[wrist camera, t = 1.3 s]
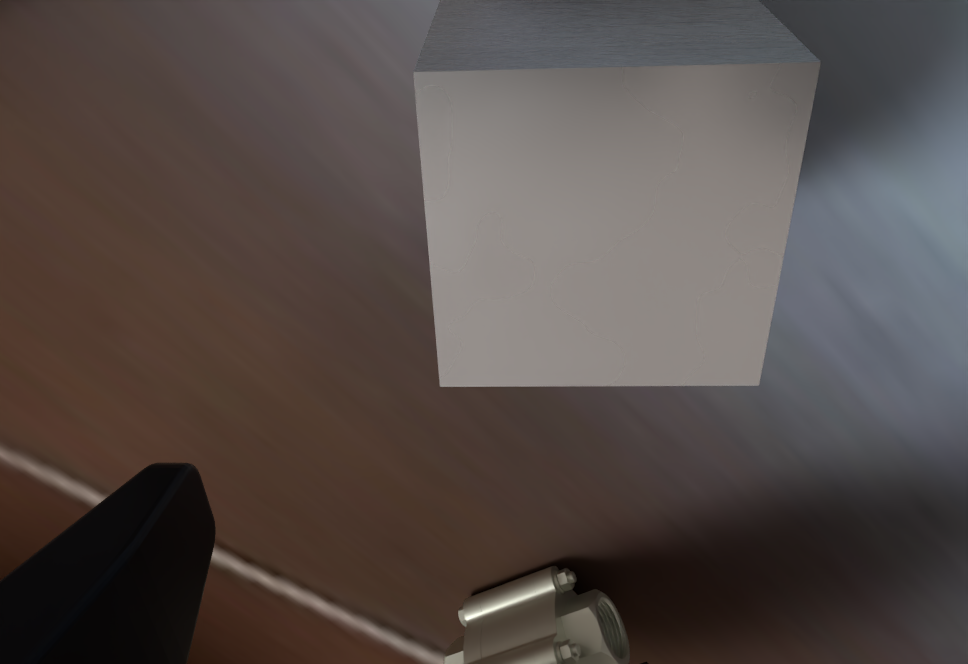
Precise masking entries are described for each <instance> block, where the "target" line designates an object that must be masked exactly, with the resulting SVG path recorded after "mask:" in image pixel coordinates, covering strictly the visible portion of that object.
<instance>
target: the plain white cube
mask: <svg viewBox="0 0 968 664" xmlns="http://www.w3.org/2000/svg"><path fill="white" fill-rule="evenodd" d="M820 65H821V61H820V60H819V59H818V58H817V57H816V56H815V55H814V54H813V53H811V52H810V51H809V50H808V49H807V48H806V47H805V46H804V45H803V44H802V43H801V42H800V41H799V40H798V39H797V38H796V37H795V36H794V35H793V34H792V33H791V32H790V31H789V30H788V29H787V28H786V27H785V26H784V25H783V24H782V23H781V22H780V21H779V20H778V19H777V18H776V17H775V16H774V15H773V14H772V13H771V12H770V11H769V10H768V9H767V8H766V7H765V6H764V5H763V4H762V3H761V2H760V1H759V0H440V2H439V4H438V7H437V10H436V12H435V15H434V18H433V20H432V23H431V26H430V28H429V31H428V34H427V37H426V39H425V42H424V45H423V47H422V50H421V53H420V55H419V58H418V61H417V63H416V66H415V69H414V72H413V74H414V86H415V98H416V109H417V121H418V133H419V145H420V156H421V168H422V180H423V192H424V203H425V215H426V227H427V239H428V250H429V262H430V274H431V286H432V297H433V309H434V321H435V333H436V344H437V356H438V368H439V380H440V387H484V386H759V382H760V377H761V372H762V367H763V361H764V356H765V351H766V346H767V341H768V335H769V330H770V325H771V320H772V315H773V309H774V304H775V299H776V294H777V289H778V283H779V278H780V273H781V268H782V263H783V258H784V252H785V247H786V242H787V237H788V232H789V226H790V221H791V216H792V211H793V206H794V200H795V195H796V190H797V185H798V180H799V174H800V169H801V164H802V159H803V154H804V148H805V143H806V138H807V133H808V128H809V122H810V117H811V112H812V107H813V102H814V96H815V91H816V86H817V81H818V76H819V71H820Z"/></svg>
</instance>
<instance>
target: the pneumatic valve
mask: <svg viewBox="0 0 968 664" xmlns="http://www.w3.org/2000/svg"><path fill="white" fill-rule="evenodd" d="M575 582H576V576H575V574H574V572H572V571H571V572H570V570H569V569H567V568H564V569H562V570H559V569H558V568H557V567H556V566H551V567H548V568H546V569H543V570H540V571H538V572H535V573H532V574H530V575H527V576H524V577H522V578H519V579H516V580H514V581H511V582H508V583H506V584H503V585H500V586H498V587H495V588H492V589H490V590H487V591H484V592H482V593H479V594H476V595H474V596H471V597H468V598H466V599H465V600H464V603H463V606H462V607H461V608H460V609H459V611H458V615H459V619H460V621H461V623H462V624H463V625H464V626H465V627H466V630H465V635H464V636H462V637H459V638H458V639H456V640H455V641H454V642H453V643H452V644H451V645H450V646H449V648H448V649H447V651H446V653H445V657H444V664H628V663H629V660H630V649H629V642H628V638H627V634H626V630H625V627H624V624H623V622H622V619H621V617H620V615H619V612H618V610H617V609H616V607H615V605H614V604H613V602H612V601H611V599H610V598H609V597H608V596H607V595H606V594H604V593H603V592H601V591H599V590H597V589H594V590H591V591H588V592H585V593H582V594H580V595H577V594H576V593H575V592H574V591H573V590H572V589H573V588H574V586H575ZM641 664H648V663H647V662H644V663H641Z"/></svg>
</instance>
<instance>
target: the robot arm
mask: <svg viewBox="0 0 968 664" xmlns="http://www.w3.org/2000/svg"><path fill="white" fill-rule="evenodd" d="M214 543H215V521H214V517H213V514H212V511H211V508H210V504H209V501H208V498H207V495H206V492H205V489H204V486H203V483H202V480H201V476H200V474H199V472H198V470H197V468H196V467H195V466H194V465H192V464H189V463H155V464H151V465H149V466H147V467H146V468H144V469H143V470H142V471H140V472H139V473H138V474H137V475H135V476H134V477H133V478H131V479H130V480H129V481H128V482H126V483H125V484H124V485H122V486H121V487H120V488H119V489H117V490H116V491H115V492H113V493H112V494H111V495H110V496H108V497H107V498H106V499H105V500H103V501H102V502H101V503H99V504H98V505H97V506H96V507H94V508H93V509H92V510H90V511H89V512H88V513H87V514H85V515H84V516H83V517H81V518H80V519H79V520H78V521H76V522H75V523H74V524H72V525H71V526H70V527H69V528H67V529H66V530H65V531H63V532H62V533H61V534H60V535H58V536H57V537H56V538H54V539H53V540H52V541H51V542H49V543H48V544H47V545H45V546H44V547H43V548H42V549H40V550H39V551H38V552H36V553H35V554H34V555H33V556H31V557H30V558H29V559H27V560H26V561H25V562H24V563H22V564H21V565H20V566H18V567H17V568H16V569H15V570H13V571H12V572H11V573H9V574H8V575H7V576H6V577H4V578H3V579H2V580H0V664H187V660H188V656H189V652H190V647H191V643H192V639H193V634H194V630H195V626H196V621H197V617H198V613H199V608H200V604H201V600H202V595H203V591H204V587H205V582H206V578H207V574H208V569H209V565H210V561H211V556H212V552H213V548H214Z"/></svg>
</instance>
